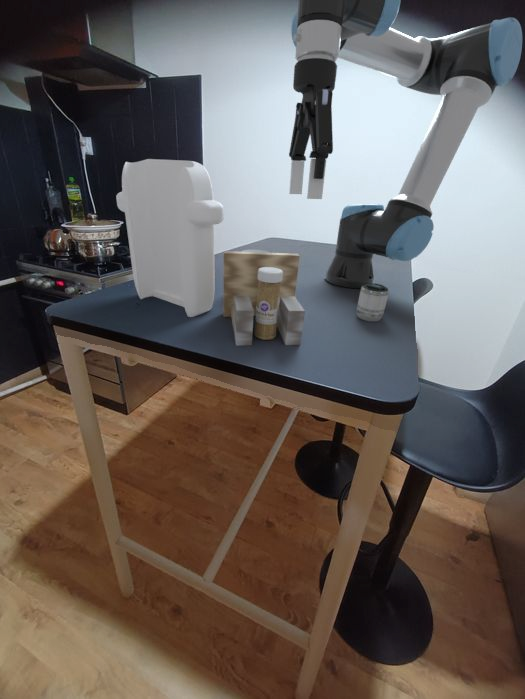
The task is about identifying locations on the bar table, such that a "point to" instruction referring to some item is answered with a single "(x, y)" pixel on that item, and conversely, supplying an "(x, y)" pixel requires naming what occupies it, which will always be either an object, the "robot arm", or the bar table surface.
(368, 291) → the camera lens
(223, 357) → the bar table surface
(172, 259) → the white contoured slab
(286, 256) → the headboard stand
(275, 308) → the sprinkles bottle
